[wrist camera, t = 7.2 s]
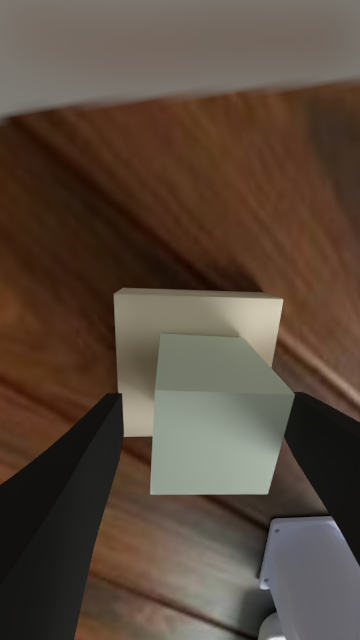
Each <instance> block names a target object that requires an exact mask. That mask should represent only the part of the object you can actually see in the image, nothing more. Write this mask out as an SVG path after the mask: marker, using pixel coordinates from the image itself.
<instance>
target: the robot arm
mask: <svg viewBox="0 0 360 640" xmlns="http://www.w3.org/2000/svg"><path fill="white" fill-rule="evenodd" d="M293 393H294V394H295V396H294V400H293V404H292V407H291V411H290V415H289V418H288V422H287V426H286V429H285V433H284V437H285V440H286V442H287V444H288V446H289V448H290V450H291V452H292V454H293V456H294V458H295V459H296V461H297V463H298V464H299V466H300V467H301V469H302V471H303V472H304V474H305V475H306V477H307V479H308V480H309V482H310V483H311V485H312V486H313V488H314V490H315V491H316V493H317V494H318V496H319V498H320V499H321V501H322V502H323V504H324V505H325V507H326V509H327V510H328V512H329V513H330V515H331V516H321V517H299V518H277V519H273V520H272V521H271V524H270V529H269V534H268V539H267V544H266V549H265V554H264V558H263V563H262V568H261V573H260V578H259V586H260V588H261V589H270V591H271V594H272V597H273V600H274V604H275V607H276V610H277V613H278V617H279V620H280V623H281V626H282V629H283V633H284V636H285V639H286V640H360V422H358V421H356V420H355V419H353V418H351V417H349V416H347V415H345V414H344V413H342V412H340V411H338V410H336V409H334V408H333V407H331V406H329V405H327V404H325V403H323V402H322V401H320V400H318V399H316V398H314V397H312V396H310V395H308V394H306V393H303V392H293ZM123 437H124V421H123V401H122V393H107V394H106V395H105V396H104V397H103V398H102V399H101V400H100V401H99V402H98V403H97V404H96V405H95V406H94V407H93V408H92V409H91V410H90V411H89V412H88V413H87V414H86V415H85V416H84V417H82V418H81V419H80V420H79V421H78V422H77V423H76V424H75V425H74V426H73V427H72V428H71V429H70V430H69V431H68V432H66V433H65V434H64V435H63V436H62V437H61V438H60V439H58V440H57V441H56V442H55V443H54V444H53V445H52V446H50V447H49V448H48V449H47V450H46V451H45V452H43V453H42V454H41V455H40V456H38V457H37V458H36V459H35V460H33V461H32V462H31V463H29V464H28V465H27V466H25V467H24V468H23V469H21V470H20V471H19V472H18V473H16V474H15V475H14V476H12V477H11V478H9V479H8V480H7V481H5V482H4V483H3V484H1V485H0V640H74V637H75V632H76V627H77V623H78V618H79V613H80V608H81V604H82V599H83V594H84V590H85V585H86V581H87V576H88V571H89V567H90V562H91V558H92V553H93V549H94V545H95V541H96V537H97V534H98V530H99V526H100V523H101V520H102V516H103V513H104V510H105V506H106V503H107V500H108V496H109V493H110V489H111V486H112V483H113V479H114V476H115V473H116V469H117V466H118V462H119V458H120V453H121V448H122V443H123Z"/></svg>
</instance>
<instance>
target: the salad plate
mask: <svg viewBox="0 0 360 640" xmlns="http://www.w3.org/2000/svg"><path fill="white" fill-rule="evenodd" d="M258 640H286V639H285V636H284V633H283V629H282V626H281V623H280V620H279V617H278V613H277V612H276V613H273V614H271V615H269V616H268V617H267V618H266V619H265V620H264V621H263V623H262V625H261V627H260V631H259V637H258Z"/></svg>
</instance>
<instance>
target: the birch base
mask: <svg viewBox="0 0 360 640" xmlns="http://www.w3.org/2000/svg"><path fill="white" fill-rule="evenodd" d="M282 304H283V299H282V298H279V297H276V296H273V295H270V294H267V293H264V292H236V291H206V290H175V289H145V288H122V289H121V290H119V291H117V292H116V293H114V313H115V335H116V357H117V379H118V393H122V401H123V421H124V437H139V436H153V419H154V398H155V384H156V374H157V363H158V353H159V343H160V333H162V334H181V335H201V336H221V337H240V338H244V339H245V340H246V341H247V342H248V343H249V344H250V345H251V346H252V348H253V349H254V350H255V351H256V352H257V353H258V354H259V355H260V356H261V357H262V359H263V360H264V361H265V362H266V363H267V364H268V365H269V366H270V367H272V362H273V356H274V350H275V344H276V339H277V333H278V327H279V322H280V316H281V310H282Z"/></svg>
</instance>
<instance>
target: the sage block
mask: <svg viewBox="0 0 360 640" xmlns="http://www.w3.org/2000/svg"><path fill="white" fill-rule="evenodd" d="M294 396H295V394H294V393H293V392H292V391H291V390H290V388H289V387H288V386H287V385H286V384H285V383H284V382H283V381H282V380H281V378H280V377H279V376H278V375H277V374H276V373H275V372H274V371H273V370H272V369H271V367H270V366H269V365H268V364H267V363H266V362H265V361H264V360H263V359H262V357H261V356H260V355H259V354H258V353H257V352H256V351H255V350H254V349H253V348H252V346H251V345H250V344H249V343H248V342H247V341H246V340H245V339H244V338H240V337H221V336H201V335H181V334H162V333H160V343H159V353H158V363H157V374H156V384H155V398H154V419H153V441H152V462H151V484H150V495H198V494H268V492H269V488H270V484H271V481H272V477H273V473H274V470H275V466H276V462H277V459H278V455H279V451H280V448H281V444H282V440H283V437H284V433H285V429H286V426H287V422H288V418H289V415H290V411H291V407H292V404H293V400H294Z"/></svg>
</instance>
